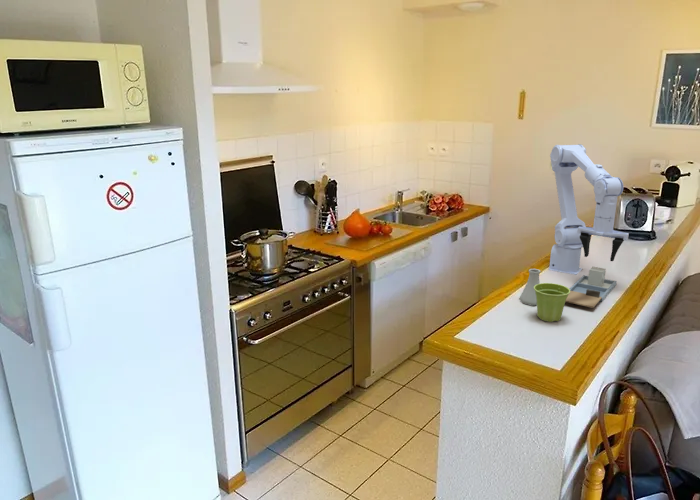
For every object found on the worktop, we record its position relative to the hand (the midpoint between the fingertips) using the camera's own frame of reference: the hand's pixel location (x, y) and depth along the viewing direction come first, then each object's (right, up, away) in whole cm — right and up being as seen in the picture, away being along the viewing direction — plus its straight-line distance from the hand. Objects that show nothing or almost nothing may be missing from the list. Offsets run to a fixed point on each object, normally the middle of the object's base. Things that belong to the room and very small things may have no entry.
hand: (599, 258), depth 169 cm
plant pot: (-24, -17, -21) cm, 36 cm away
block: (0, -9, +2) cm, 9 cm away
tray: (-3, -10, -1) cm, 11 cm away
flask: (-25, -13, -9) cm, 29 cm away
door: (-11, -12, -12) cm, 20 cm away
